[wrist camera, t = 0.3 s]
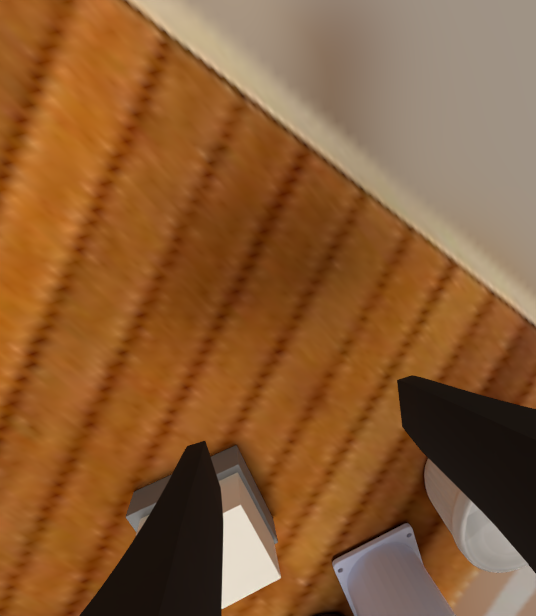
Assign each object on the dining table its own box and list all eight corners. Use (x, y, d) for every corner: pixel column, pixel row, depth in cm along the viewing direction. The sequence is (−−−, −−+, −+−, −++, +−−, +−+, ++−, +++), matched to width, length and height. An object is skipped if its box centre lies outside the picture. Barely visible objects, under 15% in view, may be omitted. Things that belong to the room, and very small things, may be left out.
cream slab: (273, 539, 21) (280, 577, 18) (186, 584, 20) (182, 629, 18) (237, 471, 19) (240, 504, 17) (140, 518, 18) (129, 559, 16)
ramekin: (444, 395, 23) (507, 437, 18) (535, 419, 26) (613, 462, 21) (392, 504, 25) (437, 570, 20) (483, 517, 28) (543, 577, 23)
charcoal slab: (271, 511, 23) (277, 542, 21) (182, 555, 23) (178, 592, 20) (235, 439, 21) (238, 464, 19) (136, 485, 20) (125, 516, 18)
